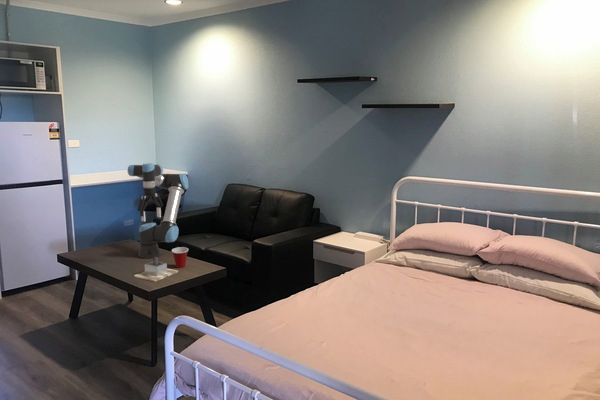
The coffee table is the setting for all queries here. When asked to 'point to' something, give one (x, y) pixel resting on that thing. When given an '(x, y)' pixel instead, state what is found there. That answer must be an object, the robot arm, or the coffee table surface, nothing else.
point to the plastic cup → (180, 256)
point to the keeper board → (153, 277)
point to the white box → (155, 268)
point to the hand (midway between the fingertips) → (151, 219)
